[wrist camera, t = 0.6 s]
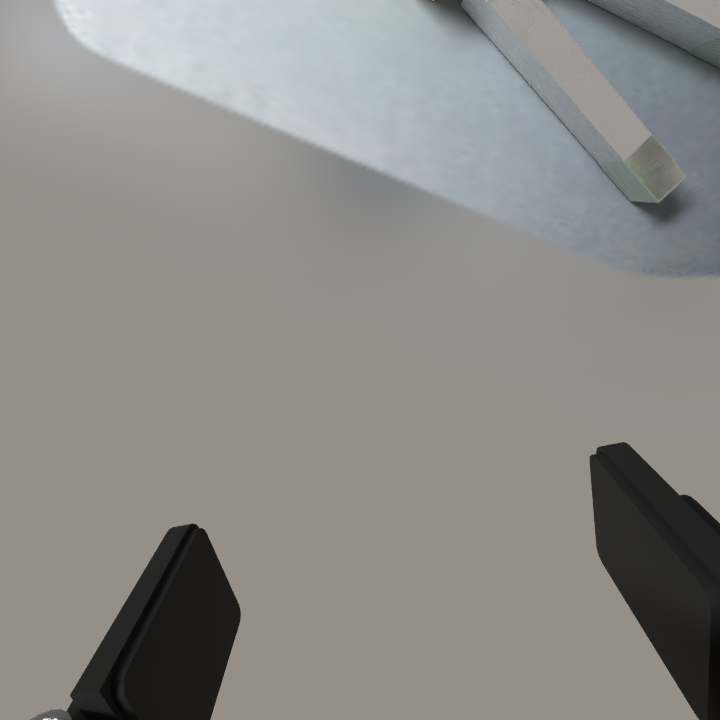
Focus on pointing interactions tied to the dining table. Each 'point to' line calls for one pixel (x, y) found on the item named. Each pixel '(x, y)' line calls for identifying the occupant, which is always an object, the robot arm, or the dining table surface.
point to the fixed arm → (675, 22)
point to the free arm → (578, 95)
